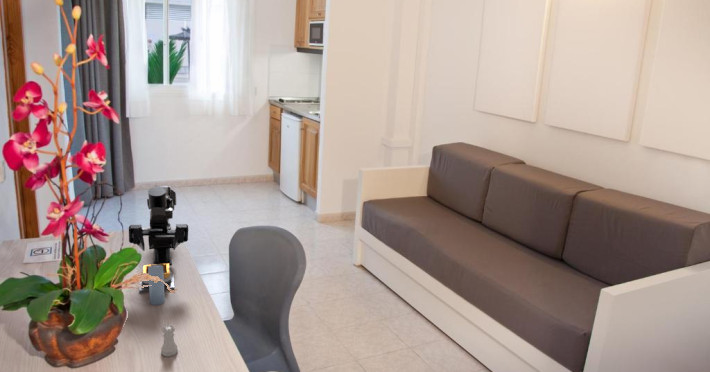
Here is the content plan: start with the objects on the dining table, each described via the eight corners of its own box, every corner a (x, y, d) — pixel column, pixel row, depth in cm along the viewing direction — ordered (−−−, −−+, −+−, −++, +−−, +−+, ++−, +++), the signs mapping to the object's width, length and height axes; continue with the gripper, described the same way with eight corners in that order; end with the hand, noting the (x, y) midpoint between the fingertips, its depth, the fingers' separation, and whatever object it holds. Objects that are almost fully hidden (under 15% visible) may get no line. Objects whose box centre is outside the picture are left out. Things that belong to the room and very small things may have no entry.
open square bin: (140, 278, 198) (139, 263, 197) (173, 275, 202) (172, 261, 200) (139, 293, 188) (138, 277, 187) (174, 289, 192) (173, 275, 190)
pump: (149, 299, 185) (148, 265, 182) (164, 297, 187) (163, 264, 183) (149, 308, 180) (148, 273, 176) (164, 306, 181) (163, 272, 178)
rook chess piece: (177, 356, 156) (176, 330, 154) (160, 357, 155) (158, 331, 153) (178, 347, 160) (177, 322, 158) (161, 348, 159) (160, 323, 157)
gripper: (129, 201, 190) (127, 229, 177) (187, 201, 196) (190, 228, 183) (129, 228, 195) (128, 257, 183) (186, 227, 202) (188, 255, 189)
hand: (159, 249), depth 185 cm, fingers open, 9 cm apart
